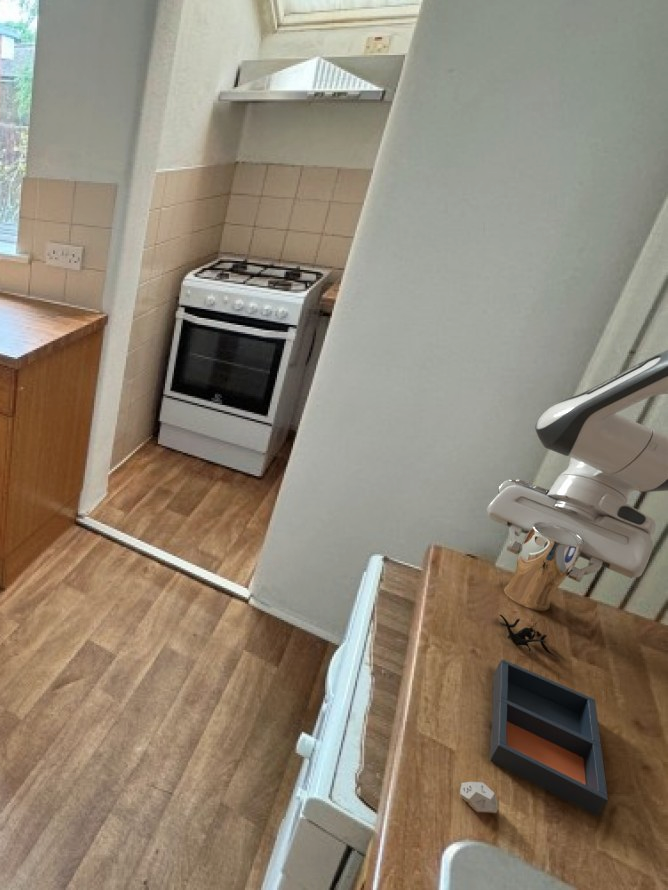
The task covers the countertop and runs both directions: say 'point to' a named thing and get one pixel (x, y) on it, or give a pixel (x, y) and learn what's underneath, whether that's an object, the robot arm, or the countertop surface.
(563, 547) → the beer glass
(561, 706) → the glass rack
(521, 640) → the creature
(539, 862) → the countertop surface
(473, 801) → the game die
